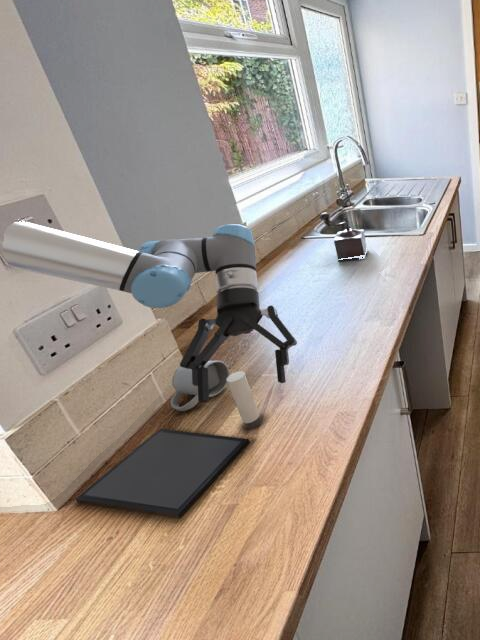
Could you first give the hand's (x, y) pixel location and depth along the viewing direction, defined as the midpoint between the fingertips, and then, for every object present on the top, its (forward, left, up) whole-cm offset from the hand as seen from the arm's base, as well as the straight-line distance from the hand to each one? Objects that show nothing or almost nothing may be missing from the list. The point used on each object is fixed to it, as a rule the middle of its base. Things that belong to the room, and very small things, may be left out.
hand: (243, 391), depth 80 cm
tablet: (-7, -13, -8) cm, 16 cm away
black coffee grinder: (-27, +83, -8) cm, 88 cm away
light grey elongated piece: (0, -1, -8) cm, 8 cm away
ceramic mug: (-18, +5, -8) cm, 20 cm away
